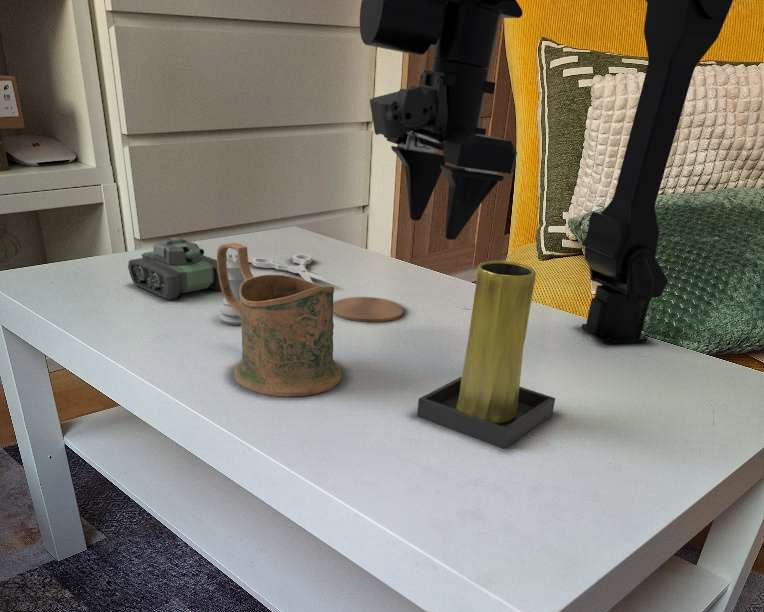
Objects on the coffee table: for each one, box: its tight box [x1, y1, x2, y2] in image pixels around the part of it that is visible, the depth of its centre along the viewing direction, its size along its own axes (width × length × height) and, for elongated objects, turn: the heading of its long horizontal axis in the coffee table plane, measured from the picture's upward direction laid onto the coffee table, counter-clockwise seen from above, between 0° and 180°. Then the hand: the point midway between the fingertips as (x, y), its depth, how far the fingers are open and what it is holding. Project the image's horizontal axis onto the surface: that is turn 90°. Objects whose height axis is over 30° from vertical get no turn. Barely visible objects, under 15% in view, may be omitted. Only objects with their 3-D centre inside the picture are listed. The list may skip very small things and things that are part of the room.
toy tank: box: [127, 236, 222, 301], centre depth 103 cm, size 10×12×7 cm
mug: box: [216, 242, 342, 397], centre depth 79 cm, size 12×18×12 cm, turn 44°
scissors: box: [248, 253, 340, 287], centre depth 113 cm, size 11×1×20 cm
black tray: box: [416, 376, 556, 449], centre depth 74 cm, size 10×10×2 cm
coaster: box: [333, 296, 404, 323], centre depth 101 cm, size 10×10×1 cm
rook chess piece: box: [219, 253, 245, 326], centre depth 92 cm, size 4×4×8 cm
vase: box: [456, 260, 537, 424], centre depth 70 cm, size 6×6×14 cm
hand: (431, 229), depth 80 cm, fingers open, 9 cm apart
